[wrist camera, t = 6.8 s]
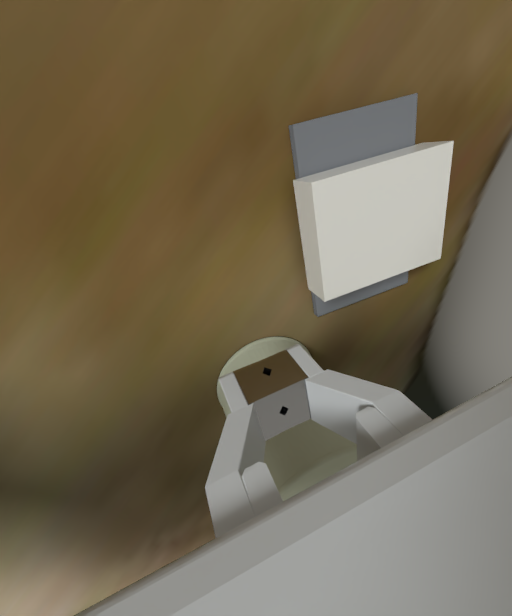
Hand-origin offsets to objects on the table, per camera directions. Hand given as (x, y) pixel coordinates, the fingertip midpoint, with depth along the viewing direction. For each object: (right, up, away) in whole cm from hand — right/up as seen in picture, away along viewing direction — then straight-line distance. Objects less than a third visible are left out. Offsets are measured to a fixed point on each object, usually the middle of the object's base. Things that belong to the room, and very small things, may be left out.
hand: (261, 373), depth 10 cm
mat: (+8, +9, +12) cm, 17 cm away
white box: (+3, +7, +10) cm, 12 cm away
